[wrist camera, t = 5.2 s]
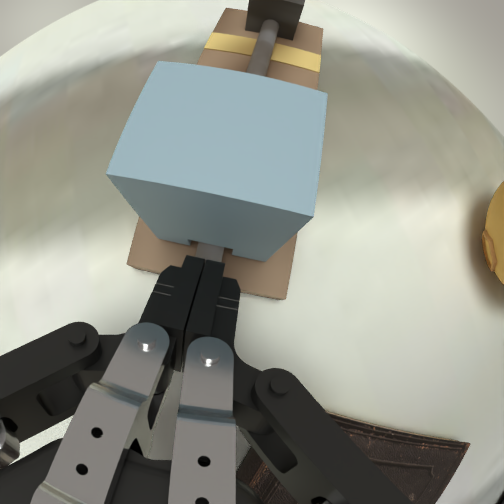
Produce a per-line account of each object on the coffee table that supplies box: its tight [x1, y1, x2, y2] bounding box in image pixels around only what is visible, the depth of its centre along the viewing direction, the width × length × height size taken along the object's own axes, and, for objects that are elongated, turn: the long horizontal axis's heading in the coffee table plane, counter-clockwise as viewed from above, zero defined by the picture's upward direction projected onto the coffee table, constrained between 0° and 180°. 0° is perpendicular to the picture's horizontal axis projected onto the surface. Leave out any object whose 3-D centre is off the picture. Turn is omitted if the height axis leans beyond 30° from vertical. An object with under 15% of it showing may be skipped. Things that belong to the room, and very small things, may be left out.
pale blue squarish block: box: [106, 61, 328, 262], centre depth 11 cm, size 5×4×7 cm
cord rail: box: [127, 0, 323, 300], centre depth 15 cm, size 8×21×5 cm, turn 169°
